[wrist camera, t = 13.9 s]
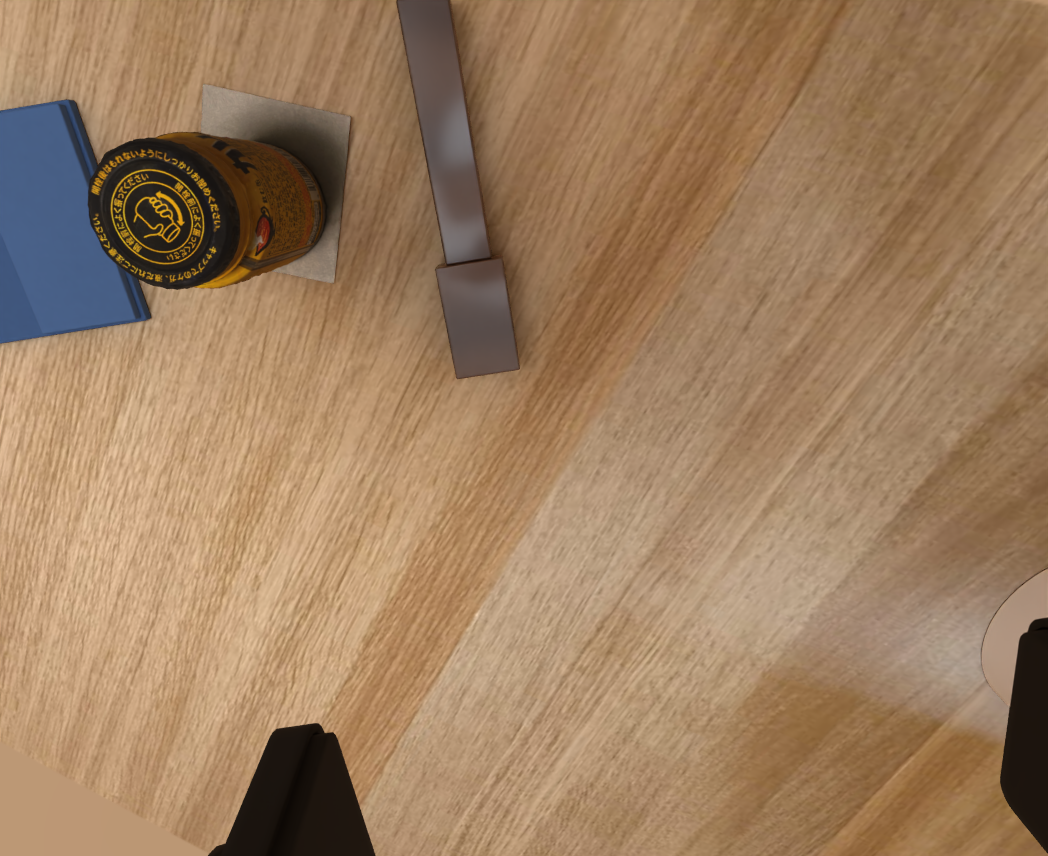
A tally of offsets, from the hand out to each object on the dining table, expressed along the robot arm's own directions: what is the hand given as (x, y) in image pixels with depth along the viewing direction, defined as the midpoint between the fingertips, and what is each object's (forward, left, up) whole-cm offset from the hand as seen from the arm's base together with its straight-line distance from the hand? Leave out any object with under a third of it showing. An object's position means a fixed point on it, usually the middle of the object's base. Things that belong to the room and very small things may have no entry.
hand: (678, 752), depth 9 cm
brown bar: (-7, -4, -30) cm, 31 cm away
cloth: (-9, -27, -30) cm, 42 cm away
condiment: (-9, -13, -31) cm, 34 cm away
